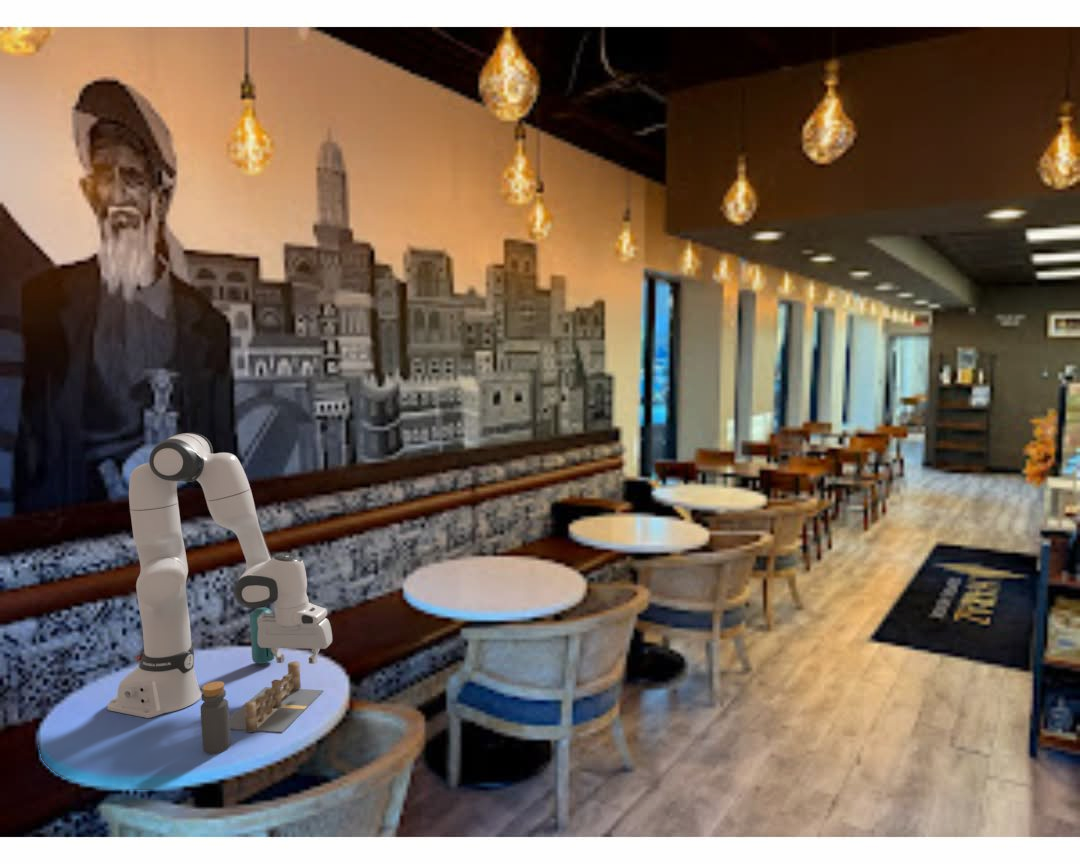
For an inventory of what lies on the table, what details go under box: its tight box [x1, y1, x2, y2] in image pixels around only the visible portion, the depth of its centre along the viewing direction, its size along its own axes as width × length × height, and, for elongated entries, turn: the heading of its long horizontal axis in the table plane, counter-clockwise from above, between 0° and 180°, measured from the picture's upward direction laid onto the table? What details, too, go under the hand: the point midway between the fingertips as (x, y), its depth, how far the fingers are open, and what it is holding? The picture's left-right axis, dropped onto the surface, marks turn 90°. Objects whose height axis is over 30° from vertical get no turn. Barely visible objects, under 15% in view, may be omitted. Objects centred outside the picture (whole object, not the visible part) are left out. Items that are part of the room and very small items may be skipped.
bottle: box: [200, 681, 231, 755], centre depth 165 cm, size 6×6×15 cm
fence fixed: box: [244, 679, 281, 733], centre depth 179 cm, size 2×14×7 cm, turn 171°
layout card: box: [229, 686, 324, 734], centre depth 184 cm, size 17×22×1 cm
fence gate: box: [279, 660, 302, 699], centre depth 191 cm, size 3×10×7 cm, turn 171°
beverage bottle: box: [249, 605, 275, 664], centre depth 212 cm, size 6×7×20 cm
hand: (296, 662), depth 194 cm, fingers open, 8 cm apart
